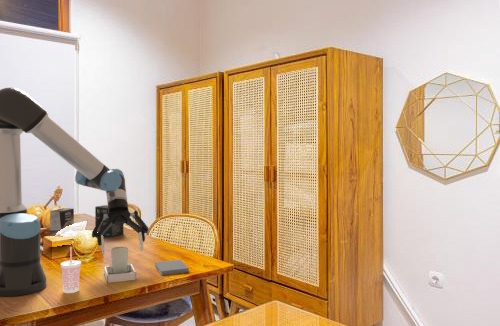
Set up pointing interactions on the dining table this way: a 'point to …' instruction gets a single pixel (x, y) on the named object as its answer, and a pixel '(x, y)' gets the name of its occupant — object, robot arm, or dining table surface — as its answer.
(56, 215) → the coffee box
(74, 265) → the beverage cup
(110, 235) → the tampon box
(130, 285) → the dining table surface
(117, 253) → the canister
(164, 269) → the plate
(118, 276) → the white tray
